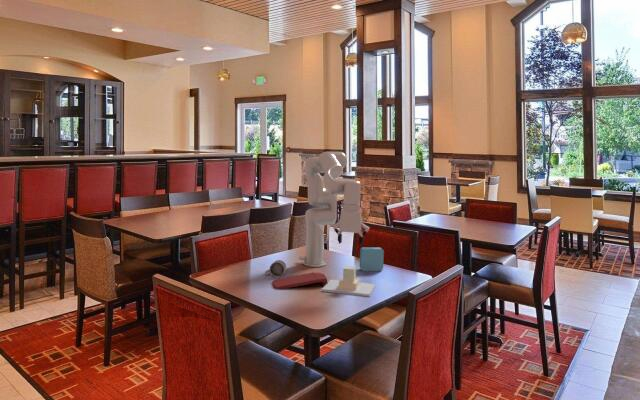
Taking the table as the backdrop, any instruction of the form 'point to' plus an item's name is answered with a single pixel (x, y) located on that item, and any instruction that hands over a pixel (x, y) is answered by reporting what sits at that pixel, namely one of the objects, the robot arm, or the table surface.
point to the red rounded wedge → (299, 280)
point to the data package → (371, 259)
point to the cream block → (349, 274)
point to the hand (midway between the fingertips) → (350, 243)
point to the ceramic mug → (276, 268)
